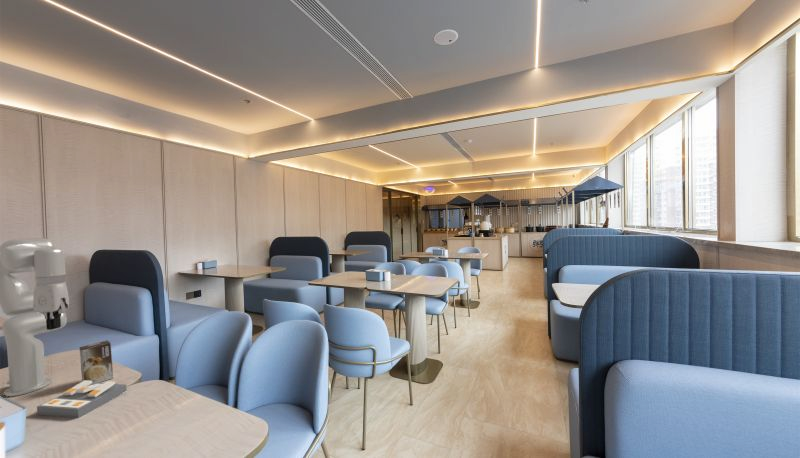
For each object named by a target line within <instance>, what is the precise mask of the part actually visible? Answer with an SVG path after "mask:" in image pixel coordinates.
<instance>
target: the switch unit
mask: <svg viewBox="0 0 800 458" xmlns="http://www.w3.org/2000/svg"><path fill="white" fill-rule="evenodd" d="M104 383H105V382H100V383H91V384H90V385H94V384H104ZM90 385H88V386H90ZM86 387H87V386H86ZM127 388H128V387H127V384H121V383H115V384H114V385H113V386H111V387H110V388H108V389H107V390H106V391H104V392H103V393H101V394H100V395H98V396H97V397H88V396H87V394H89V393H90V392H92V391H93V390H91V391H88V392H84V393H78V392H76V393H75V394H73V395H64V394H63V393H62V394H61V395H59V396H57V397H55V398H52V399H50V400H48V401H46V402H44V403H41V404H39V405H38V406H36V411H37V412H36V415H38V416H53V417H63V418H78V419H79V418H81V417H83V416H84V415H86V414H87V415H88V414H89V413H90V412H93V411H94V410H96V409H98V408H99V406H100V407H102V406H103V405H105V404H107V403H109V402H110V400H111V401H112V399H113V398H114V399H116V398H118V397H120V396H121V395H120V394H122V393H123V392H125V391H126V390H127ZM94 390H95V389H94ZM127 391H128V390H127ZM119 395H120V396H119ZM122 395H123V394H122ZM117 396H118V397H117ZM115 397H116V398H115ZM114 399H113V400H114Z"/></svg>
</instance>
